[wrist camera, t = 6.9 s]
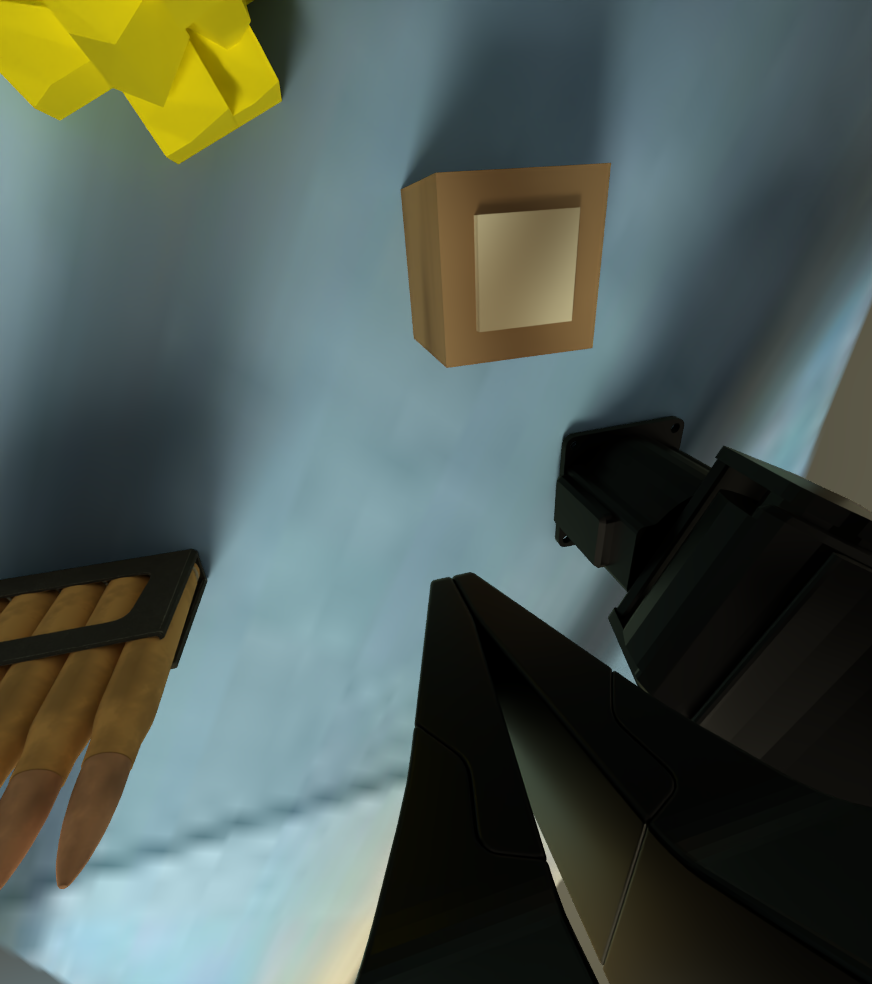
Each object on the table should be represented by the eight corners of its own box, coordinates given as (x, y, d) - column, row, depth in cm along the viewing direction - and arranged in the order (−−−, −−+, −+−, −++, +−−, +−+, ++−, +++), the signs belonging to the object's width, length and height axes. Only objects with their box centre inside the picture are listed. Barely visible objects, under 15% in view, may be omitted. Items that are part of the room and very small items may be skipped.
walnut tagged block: (533, 181, 17) (617, 161, 12) (529, 323, 19) (597, 350, 15) (400, 190, 16) (438, 171, 12) (413, 337, 18) (449, 370, 14)
